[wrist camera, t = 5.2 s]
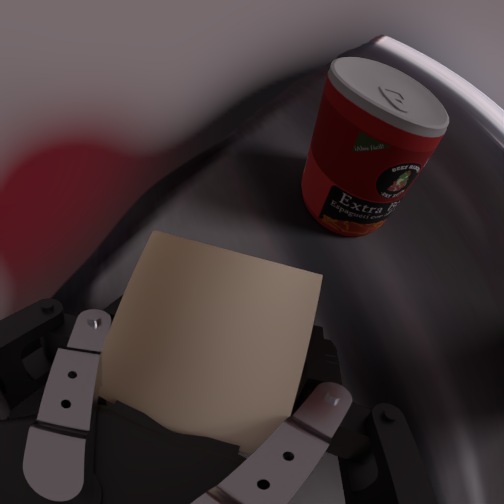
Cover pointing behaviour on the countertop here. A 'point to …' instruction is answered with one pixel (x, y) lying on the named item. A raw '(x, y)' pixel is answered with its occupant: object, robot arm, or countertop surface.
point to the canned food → (368, 144)
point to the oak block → (210, 340)
